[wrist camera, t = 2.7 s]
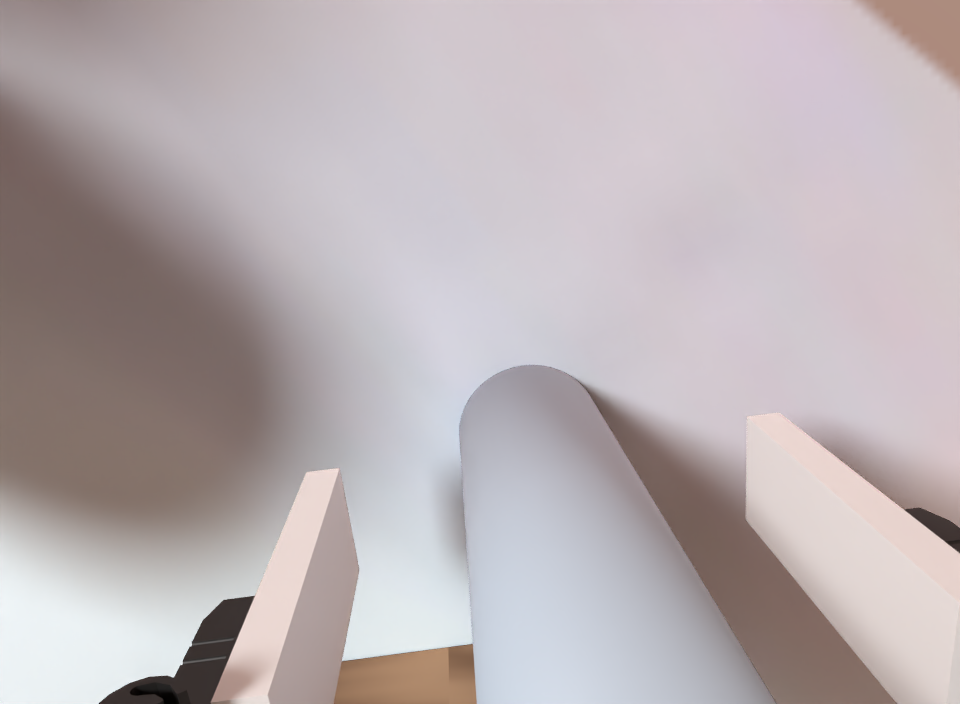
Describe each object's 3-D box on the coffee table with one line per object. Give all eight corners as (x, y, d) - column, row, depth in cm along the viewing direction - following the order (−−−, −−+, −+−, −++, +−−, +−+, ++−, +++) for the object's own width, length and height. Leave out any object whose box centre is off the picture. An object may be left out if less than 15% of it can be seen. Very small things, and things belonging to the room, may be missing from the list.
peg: (466, 504, 19) (522, 1287, 6) (449, 373, 18) (471, 989, 5) (604, 486, 20) (961, 1220, 6) (596, 354, 18) (1018, 912, 5)
